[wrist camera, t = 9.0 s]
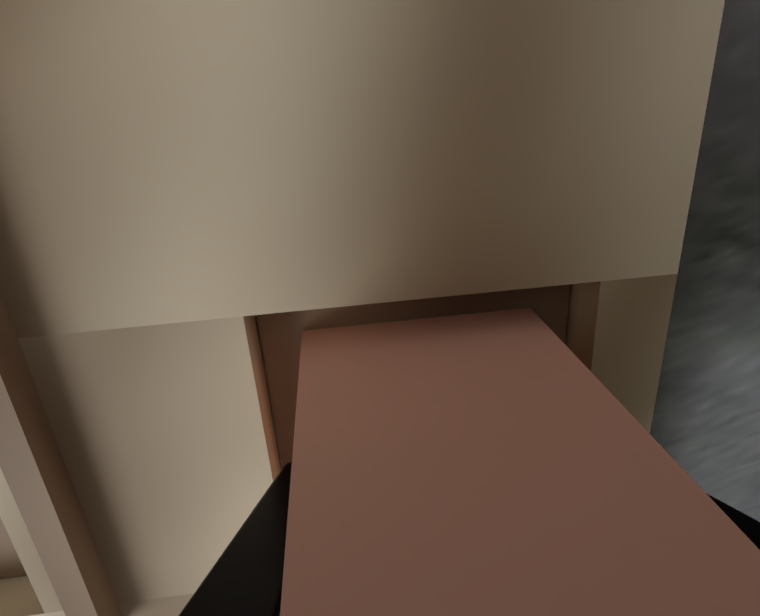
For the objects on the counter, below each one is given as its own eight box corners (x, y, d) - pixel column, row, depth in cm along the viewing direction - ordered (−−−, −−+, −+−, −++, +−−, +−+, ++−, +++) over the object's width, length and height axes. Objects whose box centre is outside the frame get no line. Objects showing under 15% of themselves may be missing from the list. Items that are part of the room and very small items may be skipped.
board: (643, -18, 8) (771, -60, 6) (574, 567, 13) (628, 670, 11) (-628, 53, 7) (-1110, 36, 5) (-170, 669, 12) (-288, 810, 10)
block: (530, 308, 9) (842, 636, 4) (520, 485, 11) (727, 900, 5) (301, 330, 9) (271, 723, 3) (326, 509, 10) (332, 976, 5)
